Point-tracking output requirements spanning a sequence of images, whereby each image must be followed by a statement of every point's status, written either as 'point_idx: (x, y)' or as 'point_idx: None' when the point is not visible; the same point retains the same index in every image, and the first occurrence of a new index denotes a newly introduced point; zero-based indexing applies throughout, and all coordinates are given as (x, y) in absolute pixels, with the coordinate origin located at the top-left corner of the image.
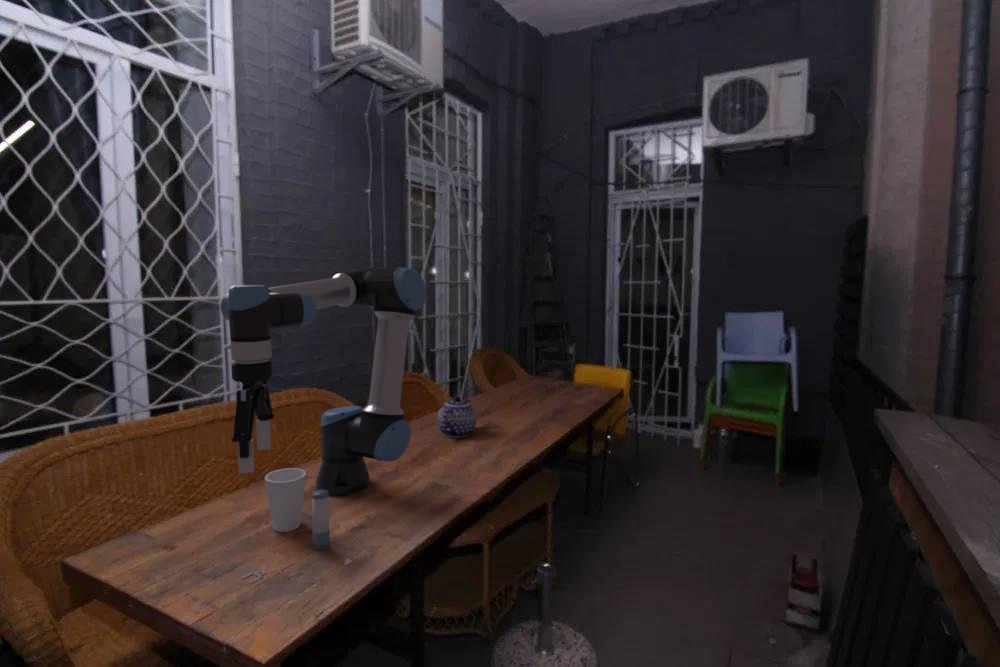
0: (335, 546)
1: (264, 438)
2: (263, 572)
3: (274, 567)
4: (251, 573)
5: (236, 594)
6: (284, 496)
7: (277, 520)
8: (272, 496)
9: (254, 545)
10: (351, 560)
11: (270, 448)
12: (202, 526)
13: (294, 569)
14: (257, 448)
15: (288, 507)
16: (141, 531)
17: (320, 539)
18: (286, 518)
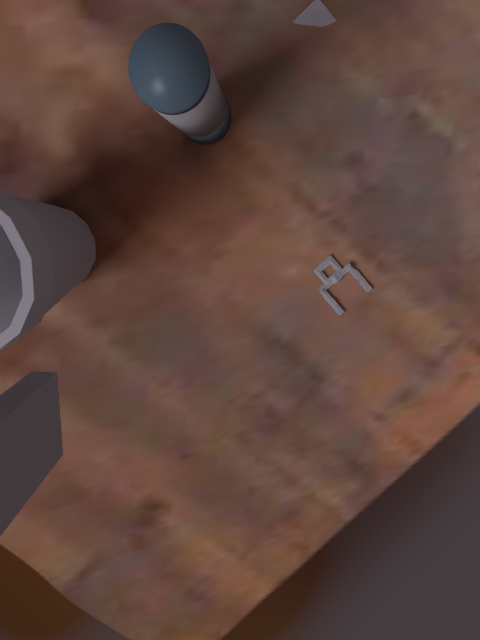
0: None
1: (14, 454)
2: (328, 264)
3: (302, 240)
4: (326, 294)
5: (412, 310)
6: (56, 258)
7: (82, 273)
8: (50, 304)
9: (168, 318)
10: (314, 1)
11: (53, 374)
12: None
13: (325, 182)
14: (57, 459)
15: (68, 240)
16: (60, 591)
17: (227, 109)
18: (83, 245)
